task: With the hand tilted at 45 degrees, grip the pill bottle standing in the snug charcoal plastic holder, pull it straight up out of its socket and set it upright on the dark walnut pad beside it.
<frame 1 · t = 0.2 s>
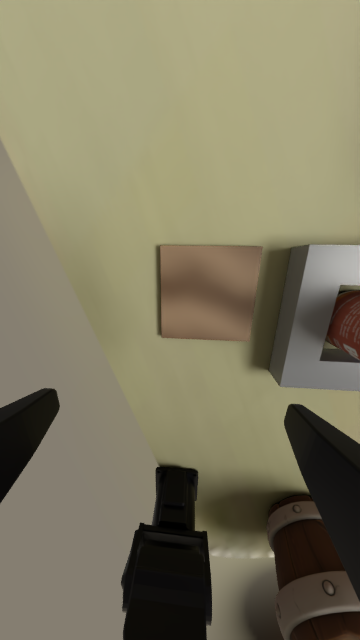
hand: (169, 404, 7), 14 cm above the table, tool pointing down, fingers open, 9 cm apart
pill bottle: (344, 317, 20), resting in holder
flowerpot: (299, 512, 30), on the table
pad: (207, 295, 20), on the table
holder: (345, 317, 20), on the table
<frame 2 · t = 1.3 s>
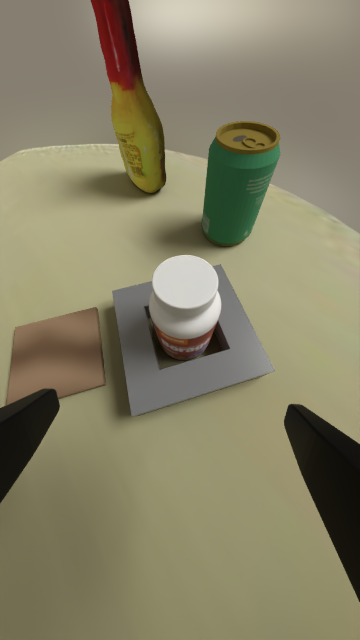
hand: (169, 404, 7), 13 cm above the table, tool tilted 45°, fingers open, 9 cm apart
bottle: (145, 184, 38), on the table
pill bottle: (184, 336, 23), resting in holder
pad: (59, 355, 22), on the table
holder: (184, 336, 23), on the table
beverage can: (225, 232, 31), on the table
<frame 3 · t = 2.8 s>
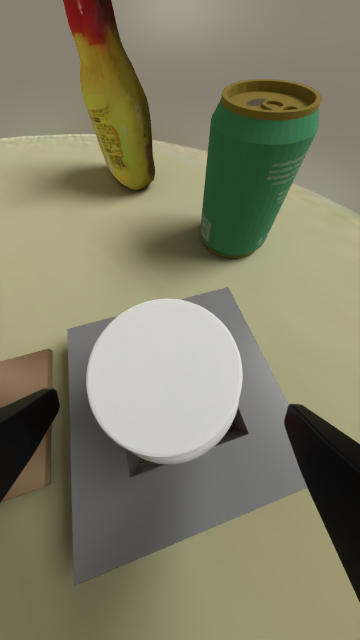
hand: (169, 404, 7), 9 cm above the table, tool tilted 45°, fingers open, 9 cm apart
bottle: (130, 180, 30), on the table
pill bottle: (176, 394, 16), resting in holder
holder: (175, 394, 15), on the table
beverage can: (230, 239, 24), on the table
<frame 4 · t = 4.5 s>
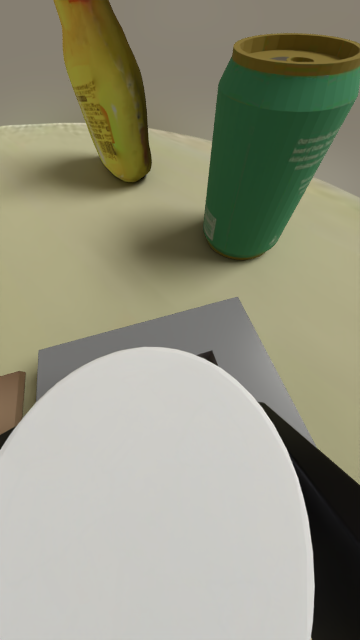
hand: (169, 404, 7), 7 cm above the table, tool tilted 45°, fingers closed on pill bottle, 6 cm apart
bottle: (125, 171, 27), on the table
pill bottle: (173, 430, 13), resting in holder, touching gripper
holder: (173, 430, 12), on the table
beverage can: (237, 237, 21), on the table
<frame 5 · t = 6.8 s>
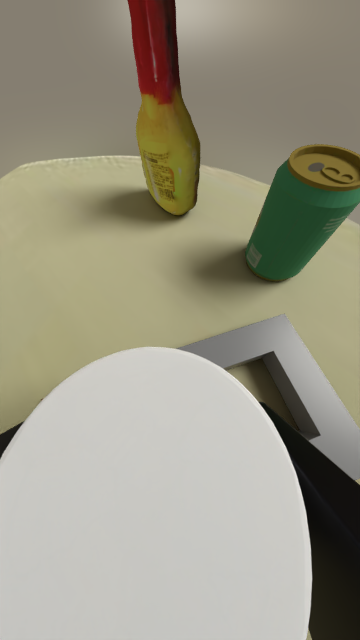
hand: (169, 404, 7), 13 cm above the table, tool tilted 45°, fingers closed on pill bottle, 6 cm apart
bottle: (170, 204, 33), on the table
pill bottle: (174, 429, 13), point 6 cm above the table, touching gripper
holder: (247, 403, 19), on the table
beverage can: (270, 262, 27), on the table
when the fingers open (8 cm above the table, at t = 9.5 s): pill bottle stays where it is, resting on pad.
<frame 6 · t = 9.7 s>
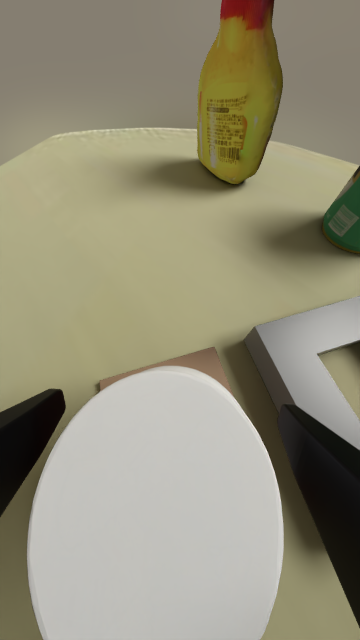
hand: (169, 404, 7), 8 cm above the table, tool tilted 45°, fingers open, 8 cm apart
bottle: (222, 174, 30), on the table
pill bottle: (175, 430, 14), resting on pad
pad: (175, 427, 14), on the table
beverage can: (350, 234, 23), on the table
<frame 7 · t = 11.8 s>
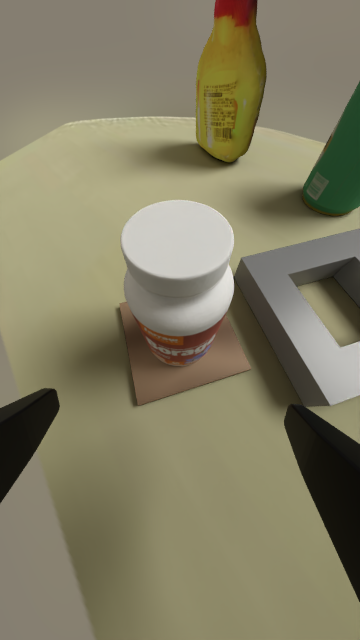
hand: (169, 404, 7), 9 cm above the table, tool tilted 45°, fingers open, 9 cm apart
bottle: (217, 154, 34), on the table
pill bottle: (180, 335, 18), resting on pad
pad: (179, 335, 18), on the table
holder: (325, 312, 19), on the table
beverage can: (326, 201, 27), on the table
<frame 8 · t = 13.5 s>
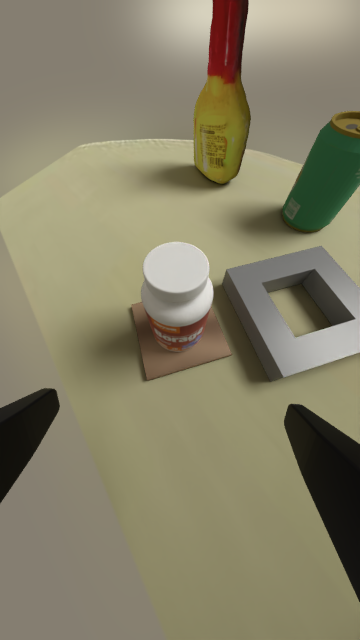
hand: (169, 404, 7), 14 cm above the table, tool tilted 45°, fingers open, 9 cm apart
bottle: (212, 176, 39), on the table
pill bottle: (178, 329, 23), resting on pad
pad: (178, 329, 23), on the table
holder: (292, 312, 24), on the table
beverage can: (302, 219, 32), on the table
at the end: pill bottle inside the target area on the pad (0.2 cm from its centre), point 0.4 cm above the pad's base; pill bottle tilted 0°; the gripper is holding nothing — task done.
